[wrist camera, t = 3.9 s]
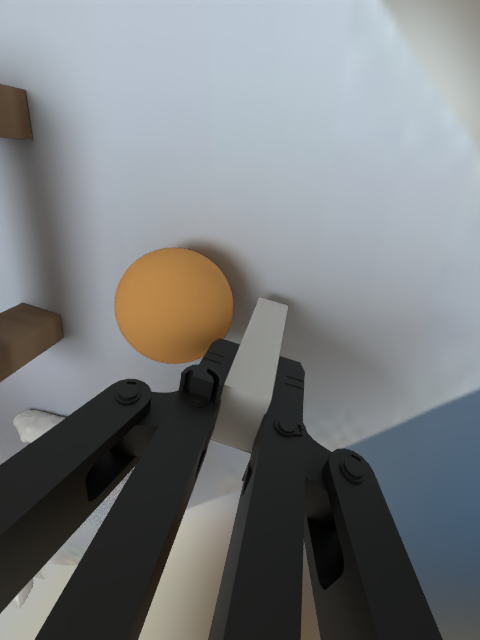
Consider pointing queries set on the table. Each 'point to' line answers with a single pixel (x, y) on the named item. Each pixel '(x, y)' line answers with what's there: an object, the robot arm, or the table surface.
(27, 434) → the white creature statuette
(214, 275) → the ball
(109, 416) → the robot arm
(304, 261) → the table surface
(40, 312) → the bridge
